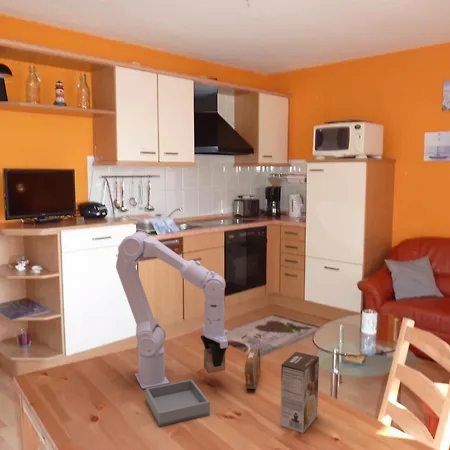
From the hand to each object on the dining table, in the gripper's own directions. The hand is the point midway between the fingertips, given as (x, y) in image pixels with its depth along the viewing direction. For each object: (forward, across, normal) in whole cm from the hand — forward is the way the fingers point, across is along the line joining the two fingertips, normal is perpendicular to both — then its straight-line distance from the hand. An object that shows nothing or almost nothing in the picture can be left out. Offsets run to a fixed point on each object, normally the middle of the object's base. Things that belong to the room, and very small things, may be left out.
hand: (214, 362), depth 129 cm
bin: (+6, -8, +14) cm, 17 cm away
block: (+2, 0, 0) cm, 2 cm away
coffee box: (+7, -26, -12) cm, 29 cm away
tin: (+7, -3, -11) cm, 13 cm away
